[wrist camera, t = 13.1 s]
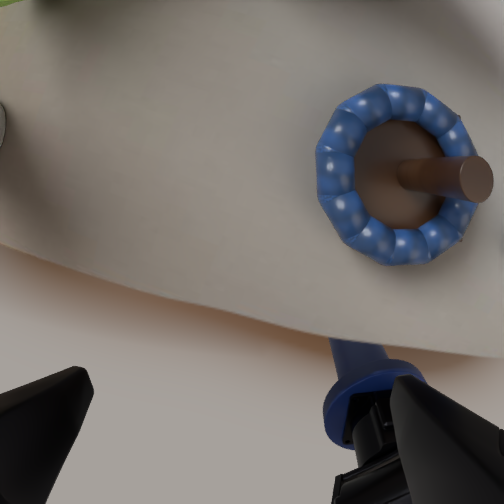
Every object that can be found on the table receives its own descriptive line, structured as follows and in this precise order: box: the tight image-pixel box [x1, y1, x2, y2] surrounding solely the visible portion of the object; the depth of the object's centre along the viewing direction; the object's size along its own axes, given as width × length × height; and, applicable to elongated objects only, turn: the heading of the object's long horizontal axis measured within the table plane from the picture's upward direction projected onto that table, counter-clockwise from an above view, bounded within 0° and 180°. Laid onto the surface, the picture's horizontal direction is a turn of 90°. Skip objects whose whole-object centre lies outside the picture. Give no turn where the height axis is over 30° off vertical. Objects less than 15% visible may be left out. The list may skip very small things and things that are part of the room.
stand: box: [354, 115, 493, 242], centre depth 13 cm, size 8×8×8 cm
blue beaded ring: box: [315, 84, 478, 266], centre depth 15 cm, size 10×10×2 cm
